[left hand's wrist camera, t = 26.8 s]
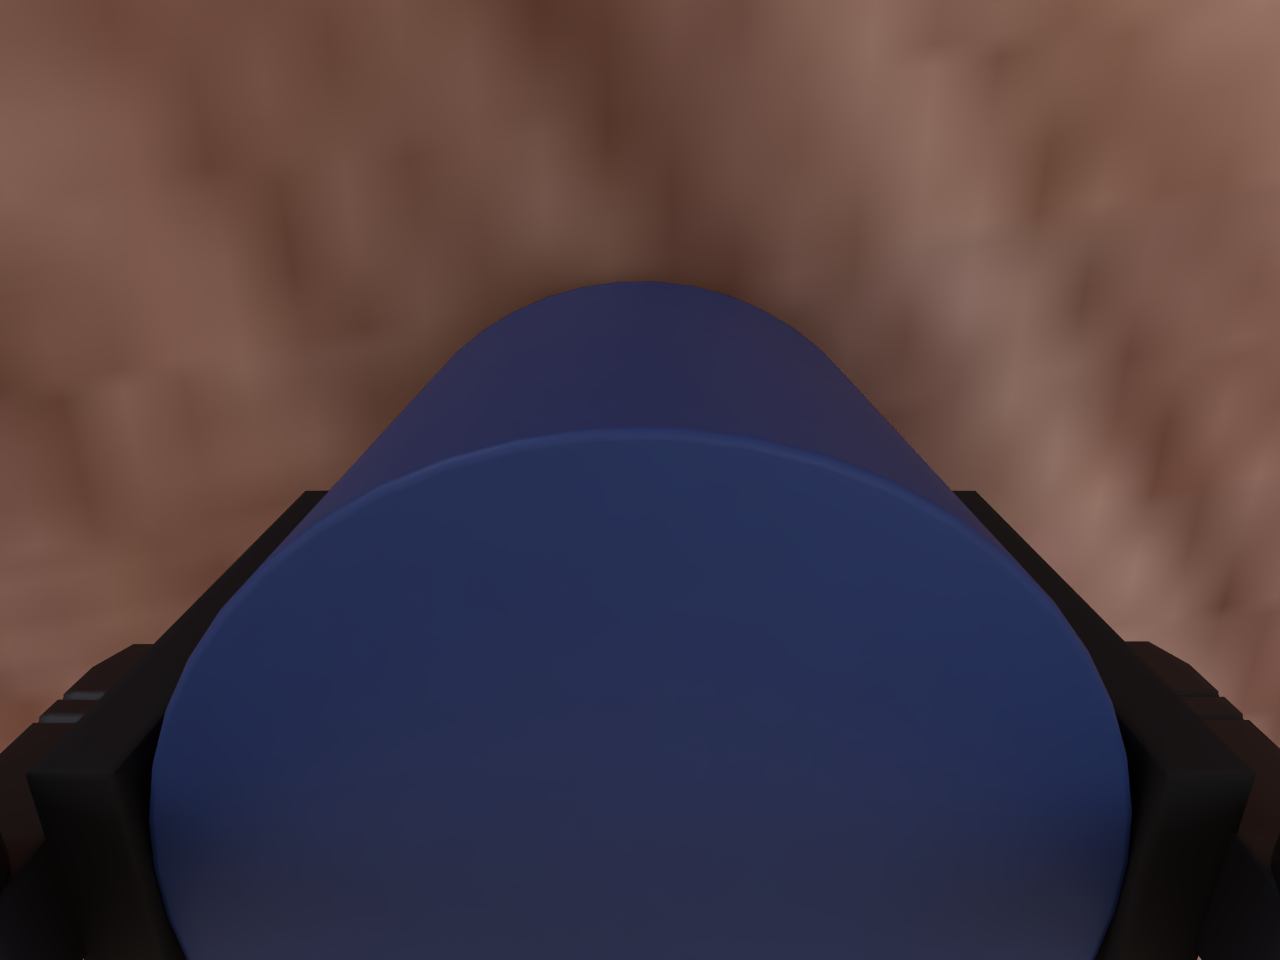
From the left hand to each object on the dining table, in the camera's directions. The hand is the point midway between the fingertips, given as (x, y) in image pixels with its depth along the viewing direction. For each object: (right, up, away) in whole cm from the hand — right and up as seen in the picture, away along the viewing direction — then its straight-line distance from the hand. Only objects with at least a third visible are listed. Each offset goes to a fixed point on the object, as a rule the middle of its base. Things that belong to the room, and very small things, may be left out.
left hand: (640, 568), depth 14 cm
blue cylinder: (0, 0, +1) cm, 1 cm away
